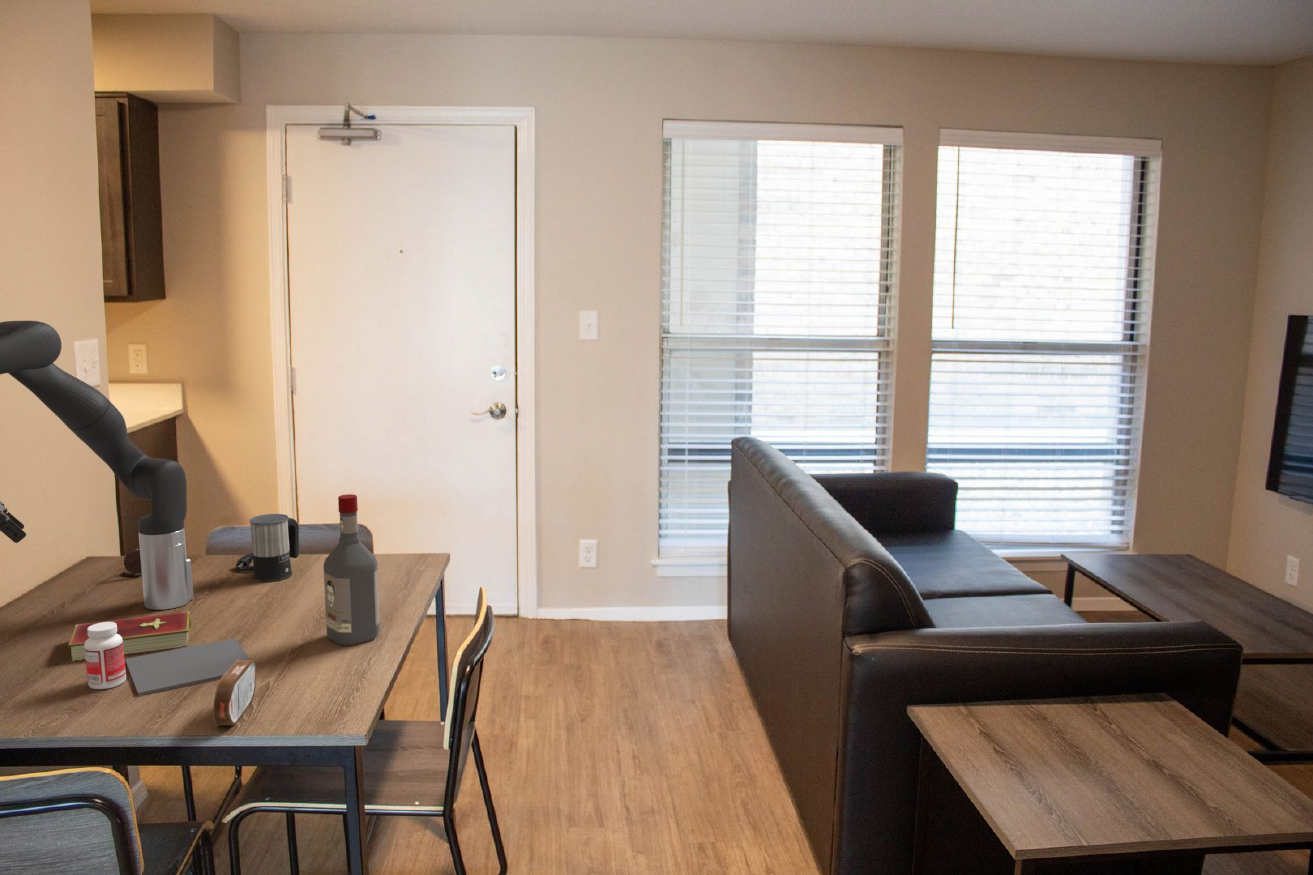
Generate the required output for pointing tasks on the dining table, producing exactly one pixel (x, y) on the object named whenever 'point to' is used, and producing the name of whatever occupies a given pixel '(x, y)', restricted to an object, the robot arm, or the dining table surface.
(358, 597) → the liquor
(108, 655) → the pill bottle
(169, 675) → the mat
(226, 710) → the tin
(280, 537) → the milk frother
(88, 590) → the dining table surface
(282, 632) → the dining table surface
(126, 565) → the compass
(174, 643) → the hardcover book
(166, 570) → the robot arm
